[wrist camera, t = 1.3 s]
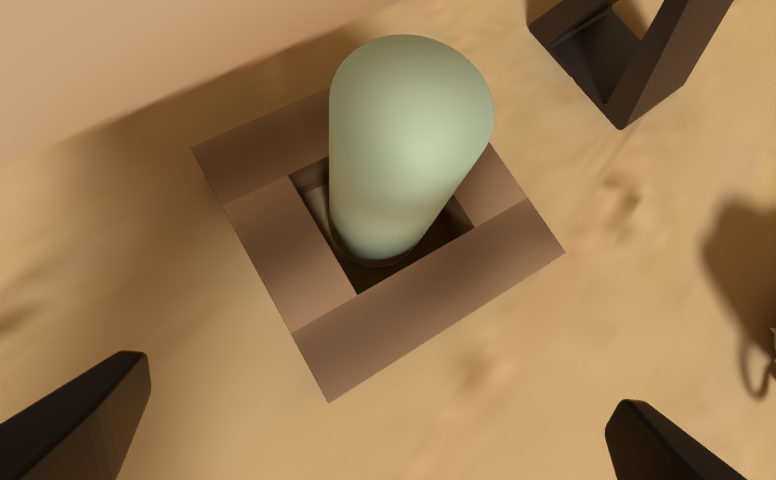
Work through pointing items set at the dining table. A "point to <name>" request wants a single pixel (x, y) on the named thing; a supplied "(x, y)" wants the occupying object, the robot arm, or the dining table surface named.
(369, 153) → the peg
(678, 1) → the phone stand
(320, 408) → the dining table surface
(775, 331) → the chinaware
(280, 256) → the pocket block
